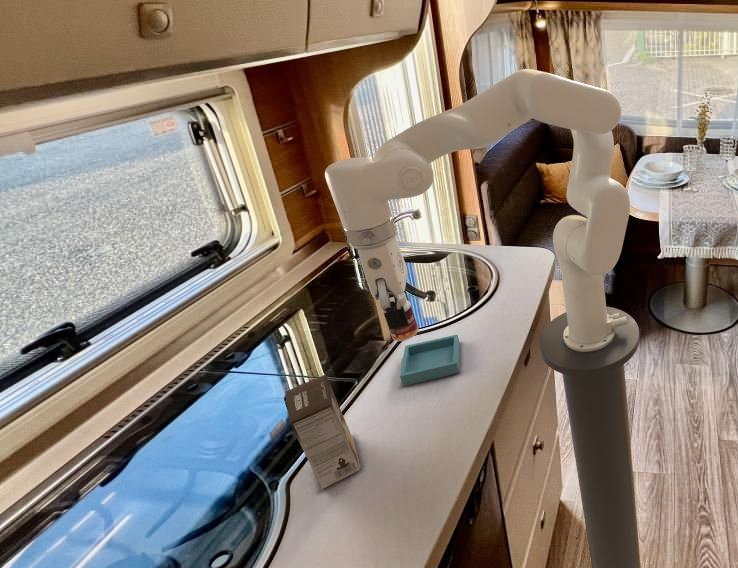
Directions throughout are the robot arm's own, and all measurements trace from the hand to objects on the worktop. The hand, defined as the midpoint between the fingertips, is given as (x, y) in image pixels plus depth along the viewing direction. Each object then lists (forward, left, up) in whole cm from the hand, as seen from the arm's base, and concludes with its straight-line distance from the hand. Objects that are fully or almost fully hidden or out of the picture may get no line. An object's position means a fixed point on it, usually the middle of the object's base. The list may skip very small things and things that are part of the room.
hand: (400, 317), depth 92 cm
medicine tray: (0, -13, -22) cm, 25 cm away
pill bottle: (0, 0, -4) cm, 4 cm away
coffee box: (+15, +9, -22) cm, 28 cm away
